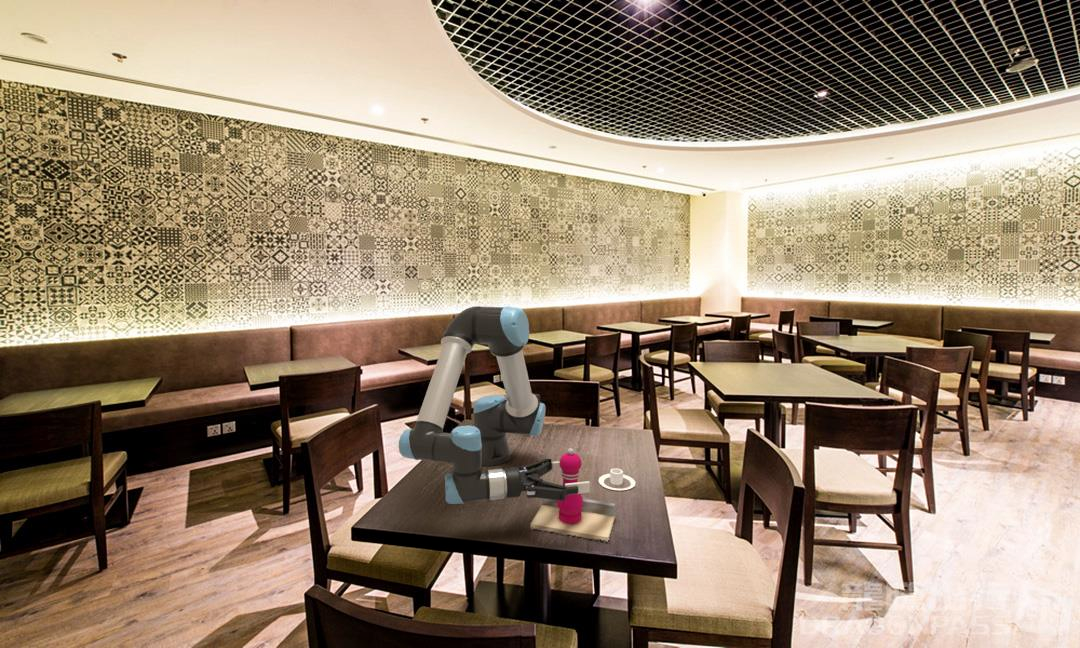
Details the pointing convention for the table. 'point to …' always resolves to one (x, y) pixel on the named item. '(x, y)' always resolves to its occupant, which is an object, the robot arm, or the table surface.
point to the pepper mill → (573, 502)
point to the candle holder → (616, 479)
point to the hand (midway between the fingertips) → (581, 475)
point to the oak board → (592, 523)
